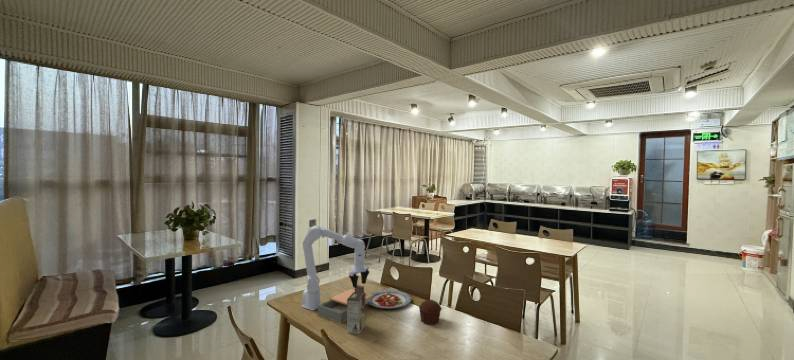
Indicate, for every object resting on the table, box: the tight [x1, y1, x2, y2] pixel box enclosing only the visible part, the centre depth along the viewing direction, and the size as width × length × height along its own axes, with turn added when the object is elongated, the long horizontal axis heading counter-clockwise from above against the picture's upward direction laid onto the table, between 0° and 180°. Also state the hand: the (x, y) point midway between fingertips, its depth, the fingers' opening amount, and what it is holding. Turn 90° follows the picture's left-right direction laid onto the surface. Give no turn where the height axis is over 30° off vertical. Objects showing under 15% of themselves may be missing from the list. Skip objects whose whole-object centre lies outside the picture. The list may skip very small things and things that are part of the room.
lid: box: [329, 284, 373, 305], centre depth 182 cm, size 17×17×5 cm
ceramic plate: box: [366, 289, 412, 309], centre depth 190 cm, size 26×26×3 cm
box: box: [317, 299, 347, 324], centre depth 174 cm, size 16×16×5 cm
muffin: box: [418, 299, 443, 326], centre depth 167 cm, size 12×11×10 cm
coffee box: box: [346, 292, 367, 335], centre depth 158 cm, size 9×6×16 cm
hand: (359, 285), depth 187 cm, fingers open, 7 cm apart
